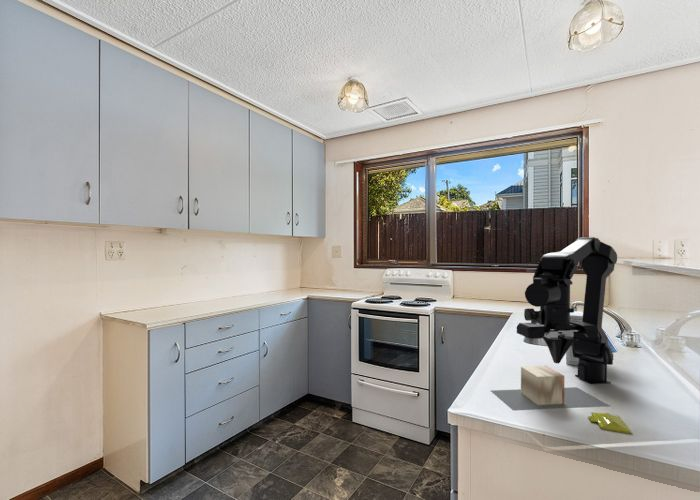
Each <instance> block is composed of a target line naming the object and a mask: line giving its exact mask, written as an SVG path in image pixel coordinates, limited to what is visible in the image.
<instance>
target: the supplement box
mask: <svg viewBox="0 0 700 500" xmlns="http://www.w3.org/2000/svg"><path fill="white" fill-rule="evenodd" d="M582 319H583V311H576V310H574V313H570V322H582ZM573 335H574V333H573ZM565 362H566V365H572V366H578V364H579V358H575V357H573V351H572V346H570V347H569V349H568V350H567V352H566V353H565Z"/></svg>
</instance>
